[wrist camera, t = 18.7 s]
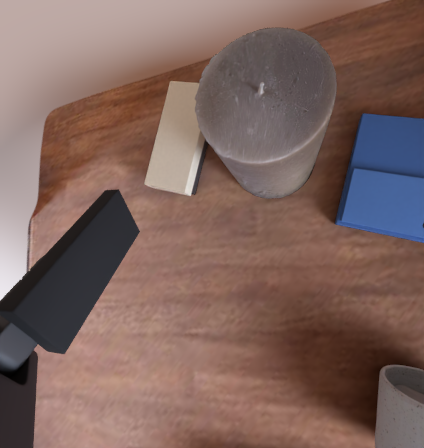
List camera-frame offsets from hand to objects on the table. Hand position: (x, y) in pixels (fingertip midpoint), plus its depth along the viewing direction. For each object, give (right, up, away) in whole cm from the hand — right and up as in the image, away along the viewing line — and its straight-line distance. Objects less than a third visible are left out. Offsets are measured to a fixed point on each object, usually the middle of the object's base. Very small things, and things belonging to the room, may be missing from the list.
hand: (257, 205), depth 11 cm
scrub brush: (-5, +9, +22) cm, 25 cm away
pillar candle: (+5, +7, +19) cm, 21 cm away
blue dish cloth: (+17, +4, +15) cm, 23 cm away
